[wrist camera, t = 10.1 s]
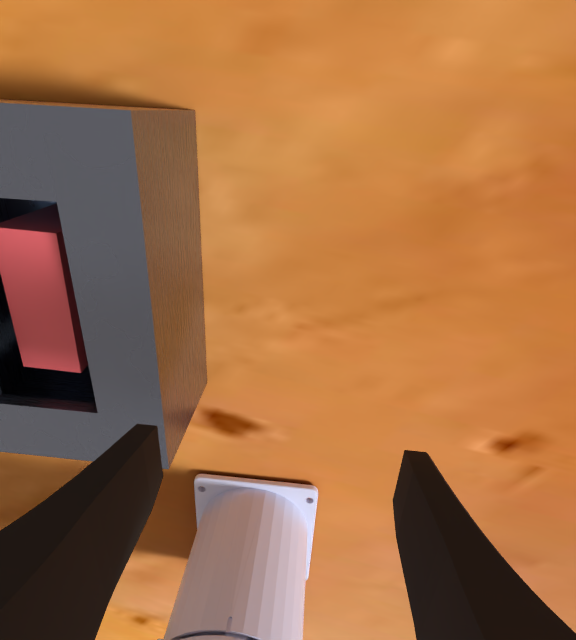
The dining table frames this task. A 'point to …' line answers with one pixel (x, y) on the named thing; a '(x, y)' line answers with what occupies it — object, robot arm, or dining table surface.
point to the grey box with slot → (108, 274)
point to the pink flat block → (41, 291)
